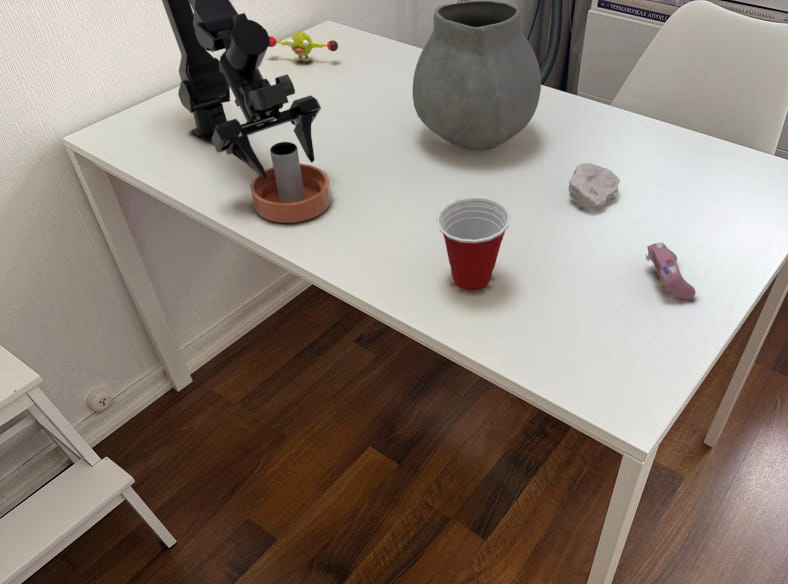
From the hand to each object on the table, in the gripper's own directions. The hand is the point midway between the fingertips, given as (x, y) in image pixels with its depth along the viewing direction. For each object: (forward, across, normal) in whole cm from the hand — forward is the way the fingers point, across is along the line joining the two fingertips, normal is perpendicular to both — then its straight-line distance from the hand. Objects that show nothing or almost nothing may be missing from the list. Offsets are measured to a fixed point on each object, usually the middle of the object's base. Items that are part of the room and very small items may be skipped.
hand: (289, 169), depth 115 cm
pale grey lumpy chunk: (+27, +44, -16) cm, 54 cm away
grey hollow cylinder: (+4, 0, +6) cm, 7 cm away
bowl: (+4, 0, +6) cm, 7 cm away
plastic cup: (+30, +11, -20) cm, 38 cm away
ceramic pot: (+6, +41, +4) cm, 42 cm away
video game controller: (+44, +35, -33) cm, 65 cm away
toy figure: (-33, +33, +43) cm, 64 cm away
